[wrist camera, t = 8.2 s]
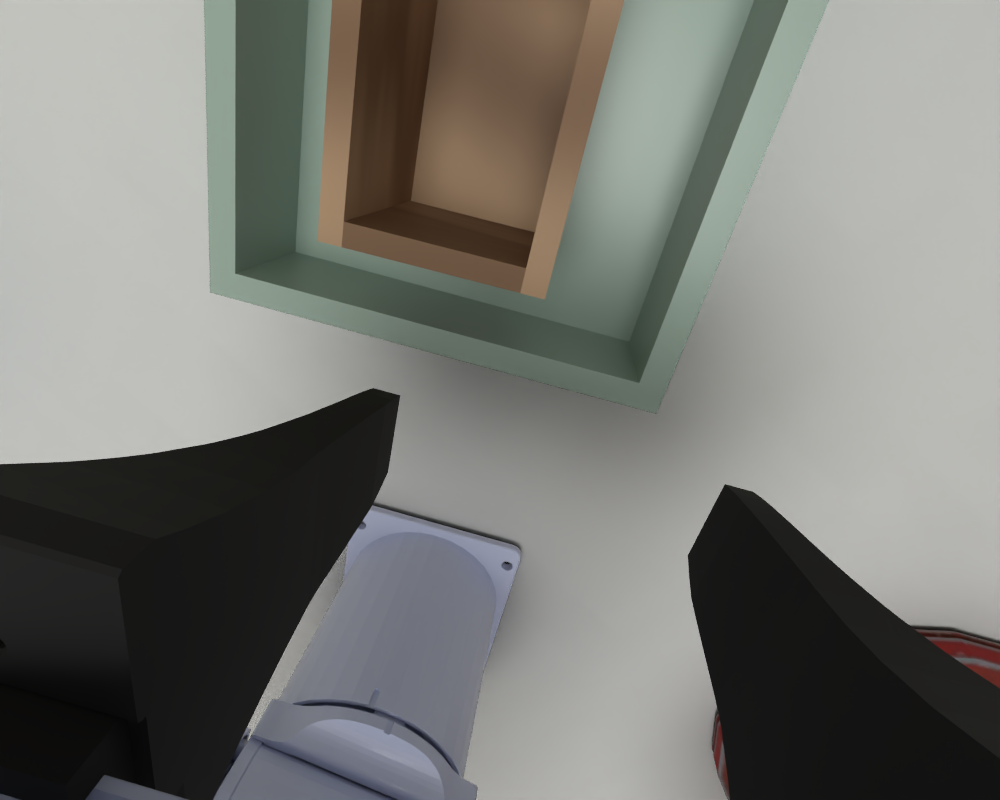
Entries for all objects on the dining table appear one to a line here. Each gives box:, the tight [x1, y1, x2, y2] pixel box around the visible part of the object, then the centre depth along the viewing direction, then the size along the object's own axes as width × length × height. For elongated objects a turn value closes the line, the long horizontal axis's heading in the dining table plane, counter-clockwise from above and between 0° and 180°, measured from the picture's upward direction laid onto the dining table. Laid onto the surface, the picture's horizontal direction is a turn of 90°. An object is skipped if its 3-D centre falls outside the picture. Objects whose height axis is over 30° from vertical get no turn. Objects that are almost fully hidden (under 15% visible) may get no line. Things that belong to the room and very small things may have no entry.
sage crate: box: [204, 0, 829, 414], centre depth 15 cm, size 14×14×4 cm
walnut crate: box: [317, 0, 624, 299], centre depth 13 cm, size 8×6×6 cm
